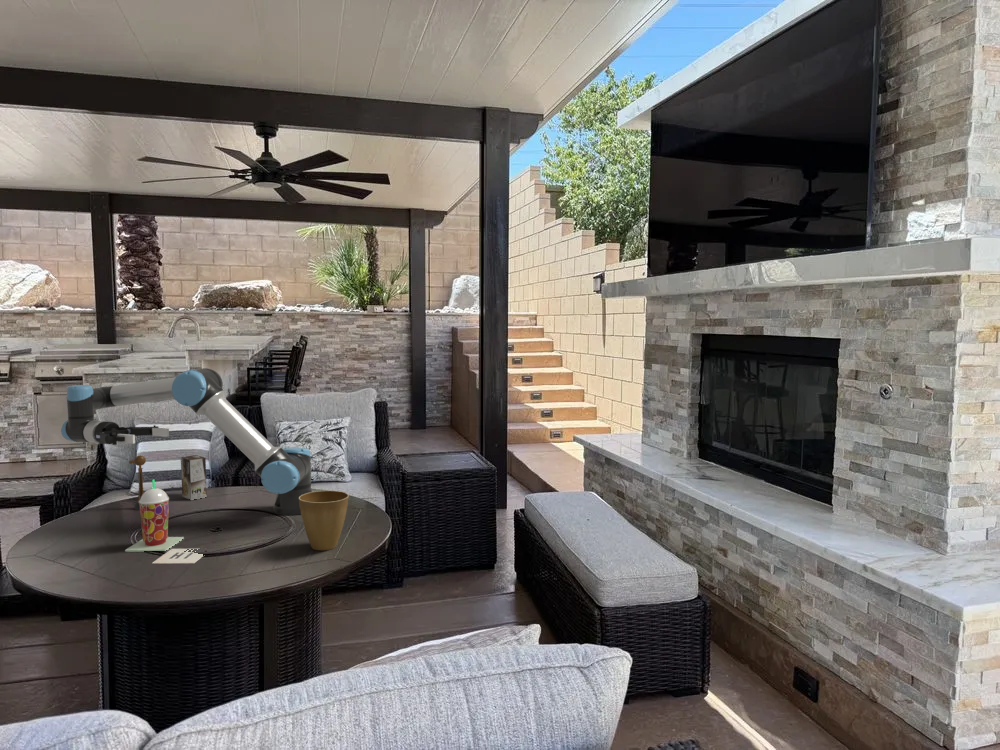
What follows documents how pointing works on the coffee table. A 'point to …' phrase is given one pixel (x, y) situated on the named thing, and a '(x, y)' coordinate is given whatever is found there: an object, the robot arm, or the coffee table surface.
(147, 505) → the smoothie
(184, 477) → the coffee box
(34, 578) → the coffee table surface
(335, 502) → the plant pot
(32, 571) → the coffee table surface
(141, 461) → the wooden tabletop sculpture
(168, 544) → the coaster
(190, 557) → the tile
